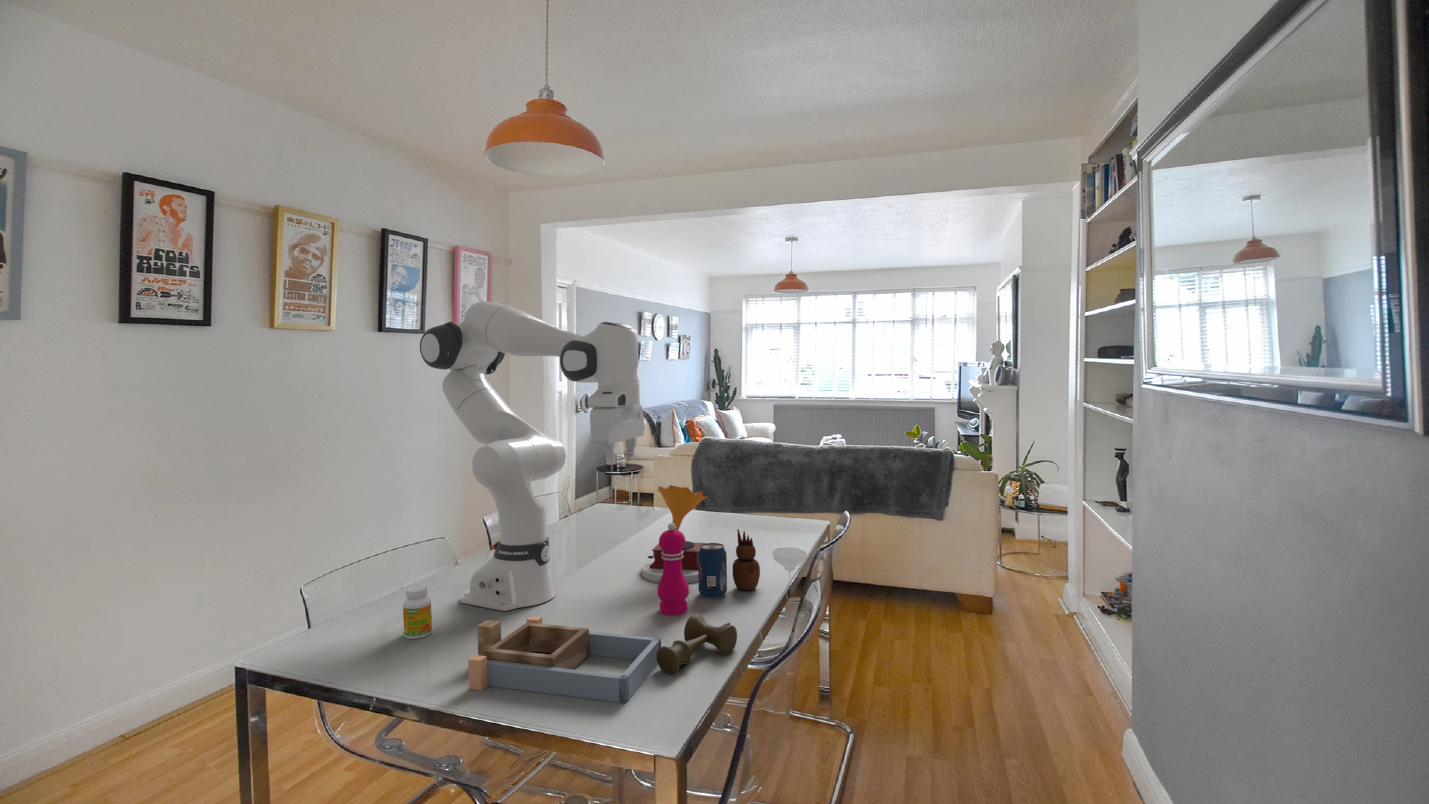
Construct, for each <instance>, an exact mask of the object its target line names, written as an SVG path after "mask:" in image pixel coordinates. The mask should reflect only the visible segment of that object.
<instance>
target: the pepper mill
mask: <svg viewBox="0 0 1429 804" xmlns="http://www.w3.org/2000/svg"><path fill="white" fill-rule="evenodd" d="M667 529H668V530H664V531H663V532H662V533H661V534H660V536H659V539H658V544H659V546H660V548H661V549H662V550H663V551H662V552H661V554H662V556H661V558H662V559H663V561H664V570H663V574H662V577H661V579H660V582H658V585H657V592H656V593H657V594H656V595H657V597H658V599H660V602H659V611H660V613H661V614H662V615H663V614H664V615H667V616H678V615H682V614H684V613H686V612H687V611H688V601H687V600H686V599H687V598H688V596H689V594H690V589H689V584H688V583H687V581H686V578H685V576H684V574H683V571H682V565H681V561H682V558H683V551H682V549H683V547H684V546H685V541H686V536H685V534H683V532H682V531H681V530H675V529H676V526H675V524H674V523H672V522H671V523H669V524H668V526H667Z"/></svg>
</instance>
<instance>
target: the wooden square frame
mask: <svg viewBox="0 0 1429 804" xmlns="http://www.w3.org/2000/svg"><path fill="white" fill-rule="evenodd" d="M501 624H502V621H500V620H489V619H487V620H484V621H483V622H482V623H480V624H478V625H477V626H476V630H477V631H476V632H477V633H476V634H477V655H480V656H487V660H495V661H503V662H512V663H521V664H529V665H538V666H547V667H556V668H564V669H573V670H575V669H576V667H578V665H580V664H581V663H582V662H583V661H584V660H585V659H586V658H587V657H588V656H589V655H590V654H589V630H590V628H587V627H576V626H566V625H554V624H545V623H542V624H537V623H527V622H525V623H524V624H522V625H521V626H520V627H517V628H516V629H515V630H514V631H512V632H511V633H510V634H508V635H506V636H505V637H504V638H502V625H501ZM536 652H537V653H536ZM538 652H539V653H538ZM540 652H541V653H540ZM546 653H548V654H546Z"/></svg>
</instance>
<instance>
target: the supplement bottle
mask: <svg viewBox="0 0 1429 804" xmlns="http://www.w3.org/2000/svg"><path fill="white" fill-rule="evenodd" d="M405 595H406V599H405V600H404V601H403V603H402V612H403V614H402V616H403V618H402V619H403V636H404V637H405V638H406V639H408V640H418V639H421V638H426V637H427V636H430V635H431V634H432V633H433V617H432V599H431V598H430V597H429V596H428V587H427V586H425V585H415V586H411V587H409V588H407V589H406V590H405Z"/></svg>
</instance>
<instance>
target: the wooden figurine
mask: <svg viewBox="0 0 1429 804" xmlns="http://www.w3.org/2000/svg"><path fill="white" fill-rule="evenodd" d="M735 555H736V559H734V560H733V563H732V579H733V582H734V585H735V587H736V588H737V589H738V590H740V591H744V592H745V591H746V592H747V591H754V590H756V588H757V587H758V585H759V581H760V576H761V567H760V564H759V561H758V560H757V559H755V557H756V555H757V551H756V547H755V545H754V542H753V538H752V537H751V538H750V535H749V534H747V536H746V531H745V530H743V532H742V536H741V532H740V529H739V528H737V546H736V548H735Z"/></svg>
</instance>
